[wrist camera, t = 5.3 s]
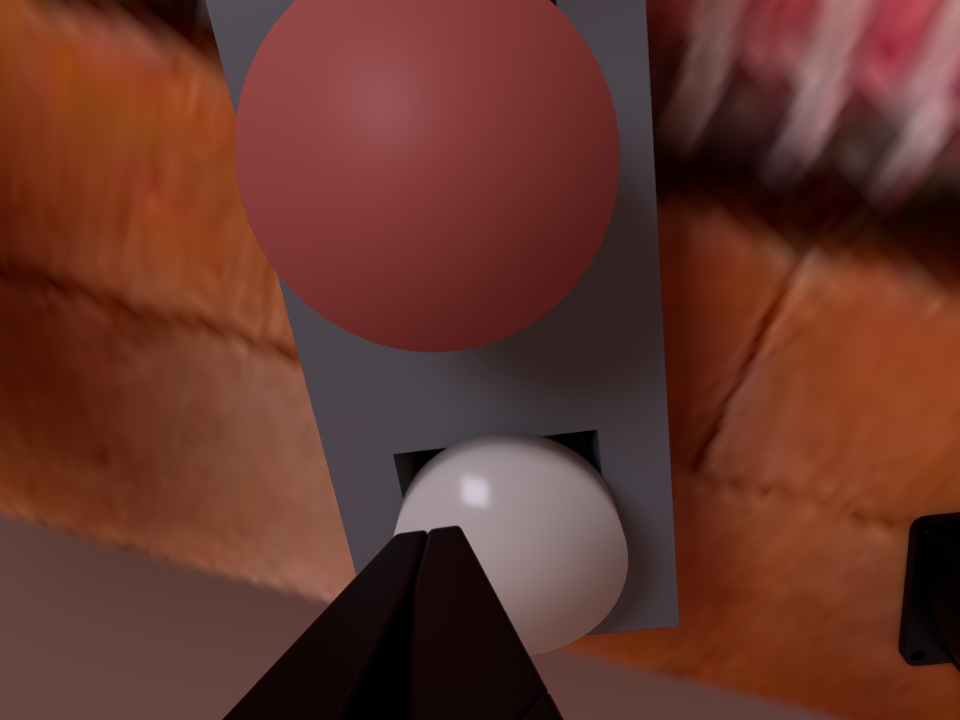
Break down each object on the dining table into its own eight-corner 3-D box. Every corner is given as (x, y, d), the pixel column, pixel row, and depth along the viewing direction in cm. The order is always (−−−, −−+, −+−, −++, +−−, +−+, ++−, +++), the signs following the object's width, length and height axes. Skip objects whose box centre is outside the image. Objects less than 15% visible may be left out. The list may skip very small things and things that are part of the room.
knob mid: (590, 257, 16) (632, 327, 11) (353, 291, 17) (289, 373, 12) (565, -16, 14) (603, -86, 9) (294, 31, 15) (184, -11, 9)
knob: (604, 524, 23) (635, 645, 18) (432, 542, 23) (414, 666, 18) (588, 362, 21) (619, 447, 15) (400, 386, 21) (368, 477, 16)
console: (644, 524, 24) (679, 626, 19) (400, 551, 25) (377, 655, 20) (564, -573, 14) (596, -909, 9) (163, -478, 15) (8, -747, 10)
